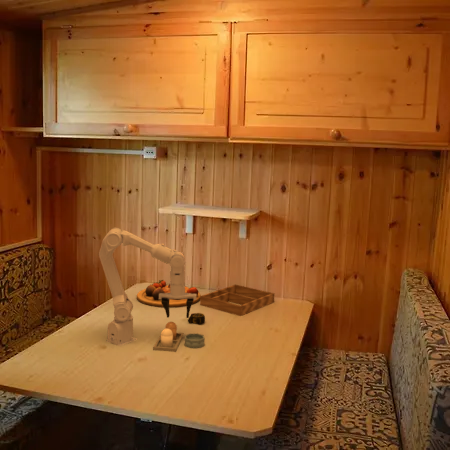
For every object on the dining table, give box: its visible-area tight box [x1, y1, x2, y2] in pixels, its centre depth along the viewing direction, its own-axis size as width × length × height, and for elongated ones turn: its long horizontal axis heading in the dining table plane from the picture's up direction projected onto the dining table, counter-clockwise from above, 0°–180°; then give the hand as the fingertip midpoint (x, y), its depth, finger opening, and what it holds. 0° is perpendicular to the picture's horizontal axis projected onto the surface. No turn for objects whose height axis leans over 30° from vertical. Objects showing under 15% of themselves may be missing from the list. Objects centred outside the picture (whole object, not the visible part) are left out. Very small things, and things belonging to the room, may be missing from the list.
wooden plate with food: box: [136, 279, 202, 308], centre depth 262 cm, size 32×32×8 cm
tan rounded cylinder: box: [160, 328, 173, 348], centre depth 198 cm, size 4×4×7 cm
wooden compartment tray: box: [199, 284, 275, 317], centre depth 256 cm, size 29×24×4 cm
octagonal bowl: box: [184, 333, 205, 349], centre depth 201 cm, size 8×8×4 cm
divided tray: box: [152, 332, 185, 353], centre depth 202 cm, size 16×9×2 cm, turn 174°
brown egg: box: [164, 321, 178, 340], centre depth 205 cm, size 4×4×7 cm
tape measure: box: [187, 312, 206, 325], centre depth 227 cm, size 7×7×4 cm
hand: (177, 316), depth 204 cm, fingers open, 7 cm apart
